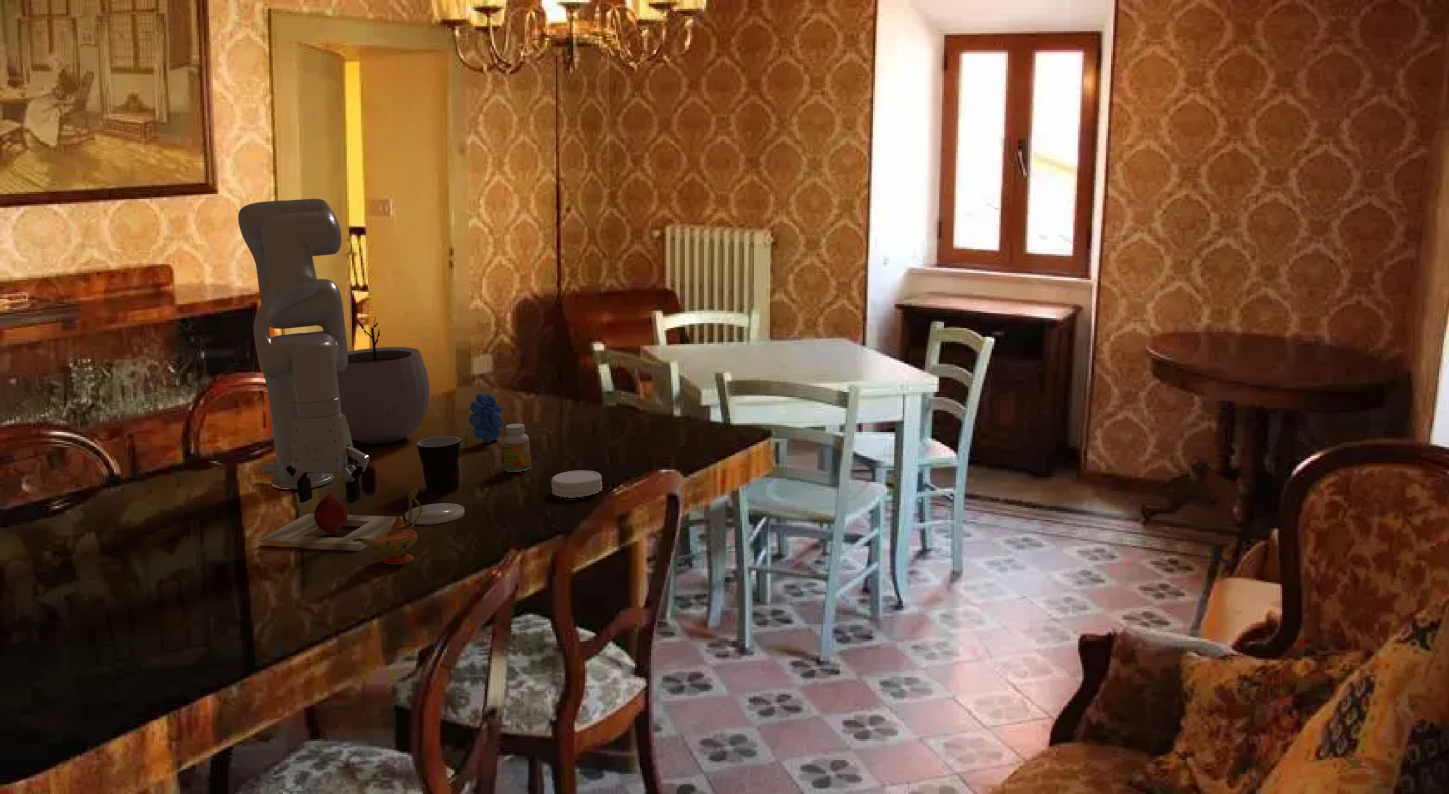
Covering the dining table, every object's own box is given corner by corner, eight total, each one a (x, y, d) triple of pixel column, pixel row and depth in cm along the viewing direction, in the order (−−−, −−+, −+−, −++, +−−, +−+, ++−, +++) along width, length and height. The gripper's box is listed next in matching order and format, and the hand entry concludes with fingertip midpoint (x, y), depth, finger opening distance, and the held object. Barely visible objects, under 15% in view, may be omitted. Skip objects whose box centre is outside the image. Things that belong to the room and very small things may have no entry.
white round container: (613, 491, 261) (611, 474, 261) (575, 503, 254) (573, 486, 254) (580, 483, 268) (578, 466, 267) (542, 495, 261) (540, 478, 260)
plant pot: (450, 429, 321) (439, 307, 314) (406, 454, 298) (393, 323, 291) (361, 428, 326) (348, 308, 320) (310, 453, 303) (295, 324, 297)
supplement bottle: (500, 472, 279) (497, 428, 277) (514, 465, 284) (510, 422, 281) (522, 474, 277) (519, 429, 275) (535, 467, 282) (532, 423, 279)
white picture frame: (259, 546, 236) (259, 540, 236) (308, 519, 251) (307, 513, 251) (360, 550, 231) (359, 544, 231) (403, 523, 246) (402, 516, 246)
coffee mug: (454, 495, 263) (450, 446, 261) (414, 494, 265) (409, 446, 263) (476, 479, 274) (472, 432, 272) (438, 479, 276) (433, 432, 274)
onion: (320, 541, 237) (315, 499, 235) (313, 533, 242) (309, 491, 240) (352, 535, 240) (348, 493, 238) (345, 527, 245) (341, 486, 243)
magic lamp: (341, 578, 217) (334, 514, 215) (408, 544, 233) (403, 484, 231) (374, 582, 214) (368, 517, 212) (440, 547, 230) (435, 487, 228)
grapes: (488, 450, 298) (484, 398, 296) (464, 448, 301) (460, 397, 299) (518, 438, 309) (514, 388, 306) (494, 436, 311) (490, 386, 309)
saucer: (394, 523, 246) (394, 518, 246) (422, 506, 256) (421, 501, 256) (448, 525, 243) (448, 520, 243) (474, 508, 253) (473, 503, 253)
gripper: (264, 413, 234) (276, 506, 238) (351, 413, 230) (362, 507, 233) (288, 405, 241) (299, 495, 245) (373, 404, 237) (382, 496, 240)
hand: (329, 501), depth 239 cm, fingers open, 9 cm apart
